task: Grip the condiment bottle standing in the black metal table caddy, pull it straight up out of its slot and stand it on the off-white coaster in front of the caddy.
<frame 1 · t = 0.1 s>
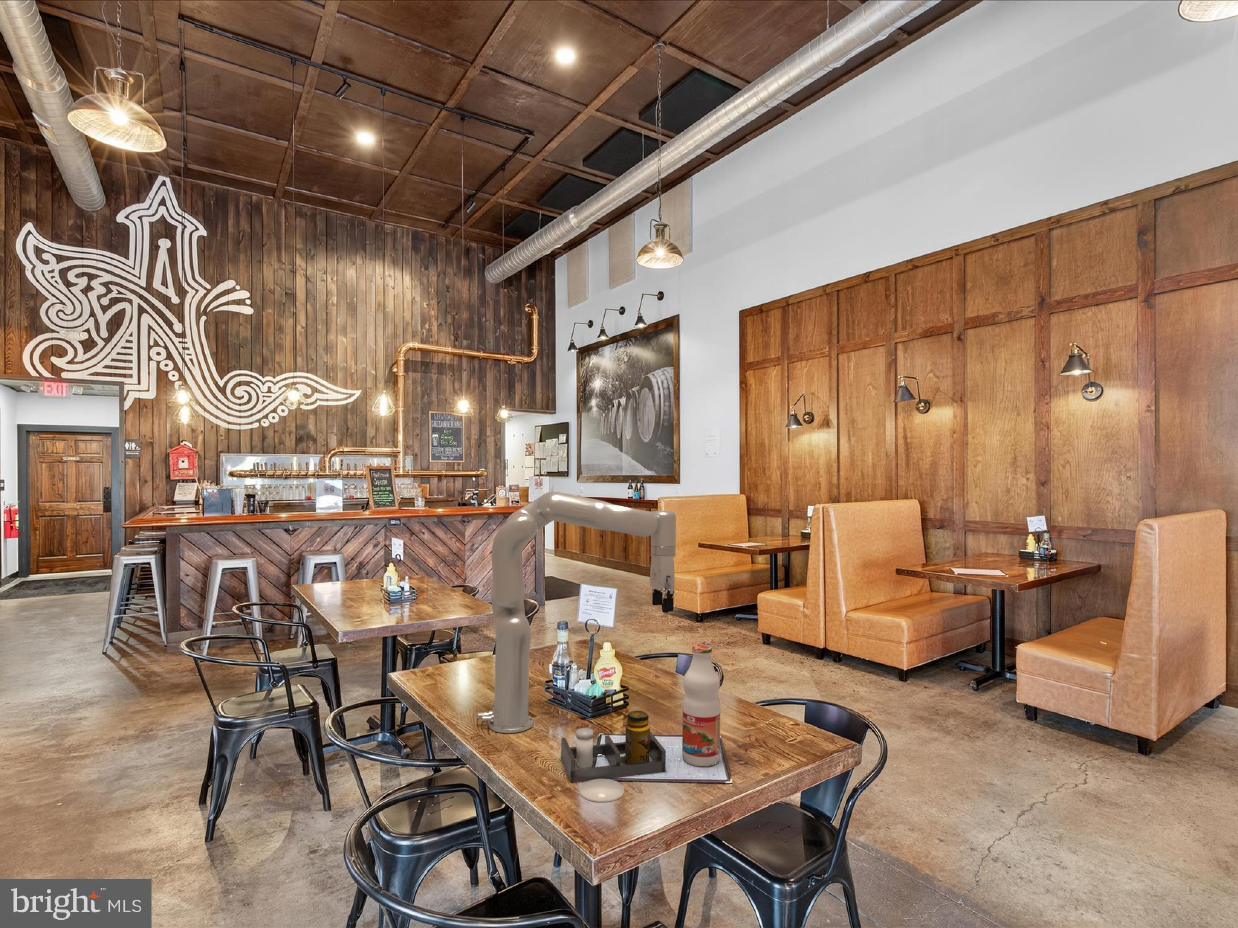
hand: (662, 608, 190), 31 cm above the table, tool pointing down, fingers open, 9 cm apart
coaster: (601, 790, 140), on the table
salt shaker: (584, 764, 153), resting in caddy
condiment: (633, 763, 154), resting in caddy
fruit juice: (700, 759, 157), on the table
caddy: (612, 764, 153), on the table
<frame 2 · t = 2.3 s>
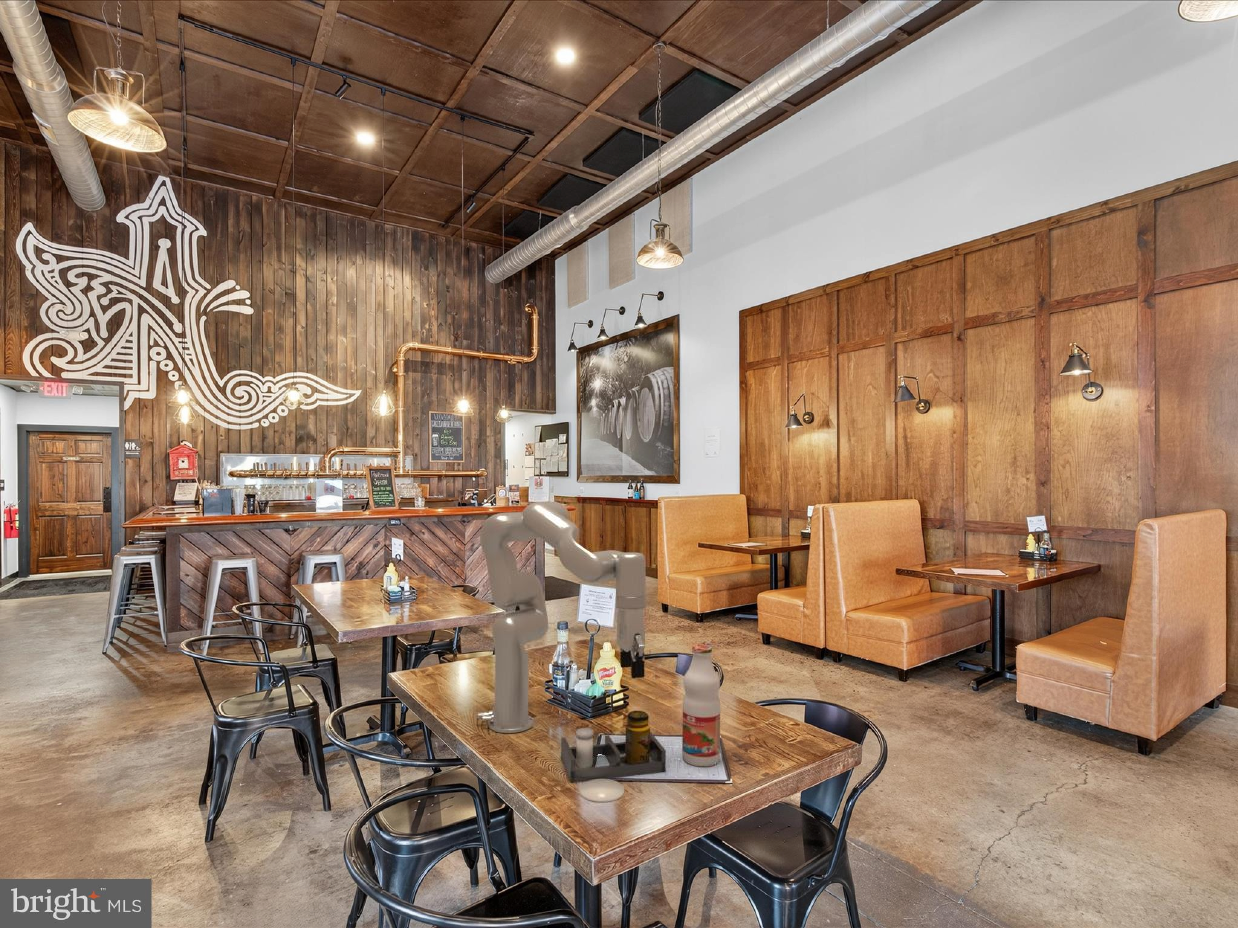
hand: (632, 671, 155), 22 cm above the table, tool pointing down, fingers open, 9 cm apart
nothing on the table moved.
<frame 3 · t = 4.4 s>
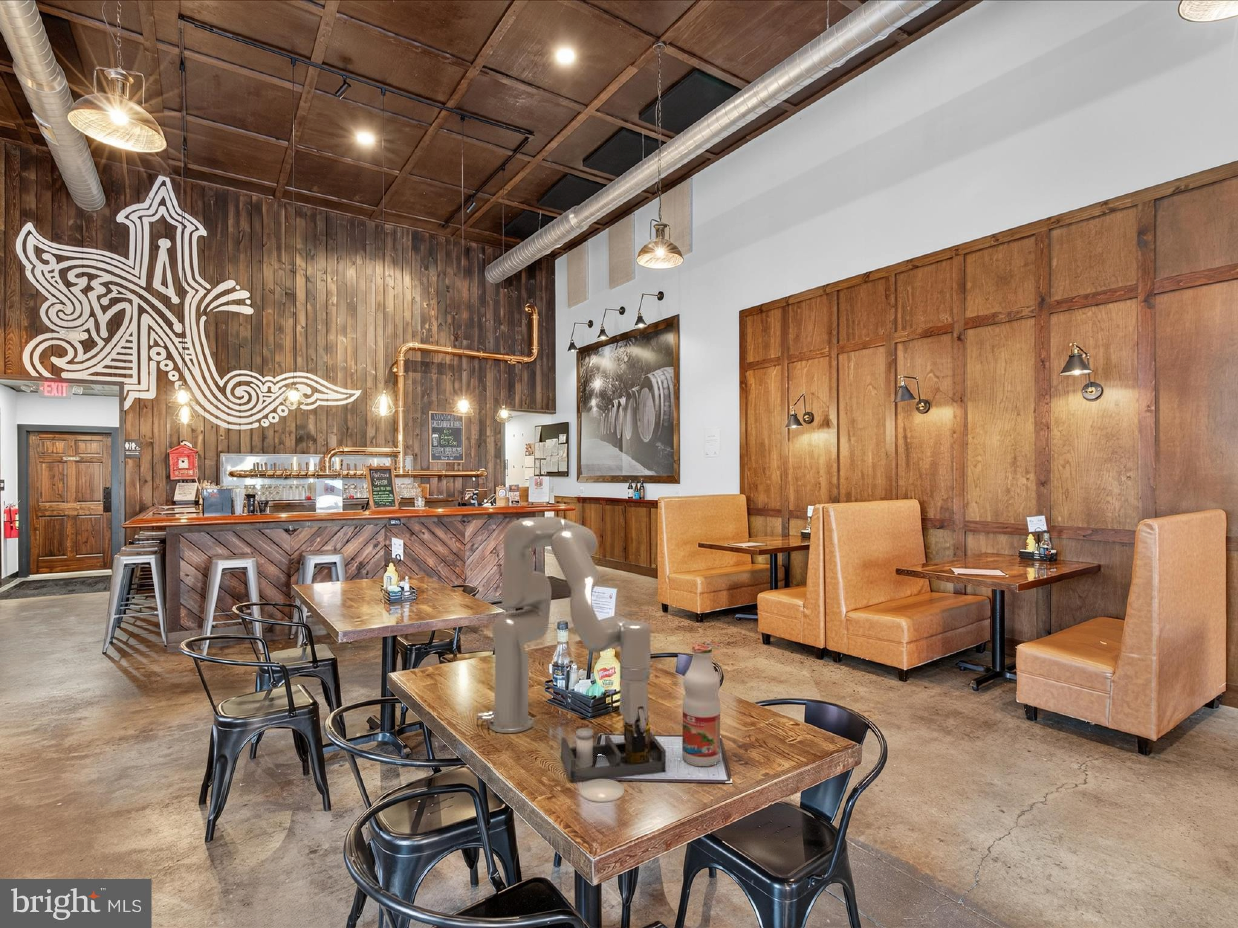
hand: (634, 745, 154), 4 cm above the table, tool pointing down, fingers closed on condiment, 6 cm apart
condiment: (633, 763, 155), resting in caddy, touching gripper
everything else where it was.
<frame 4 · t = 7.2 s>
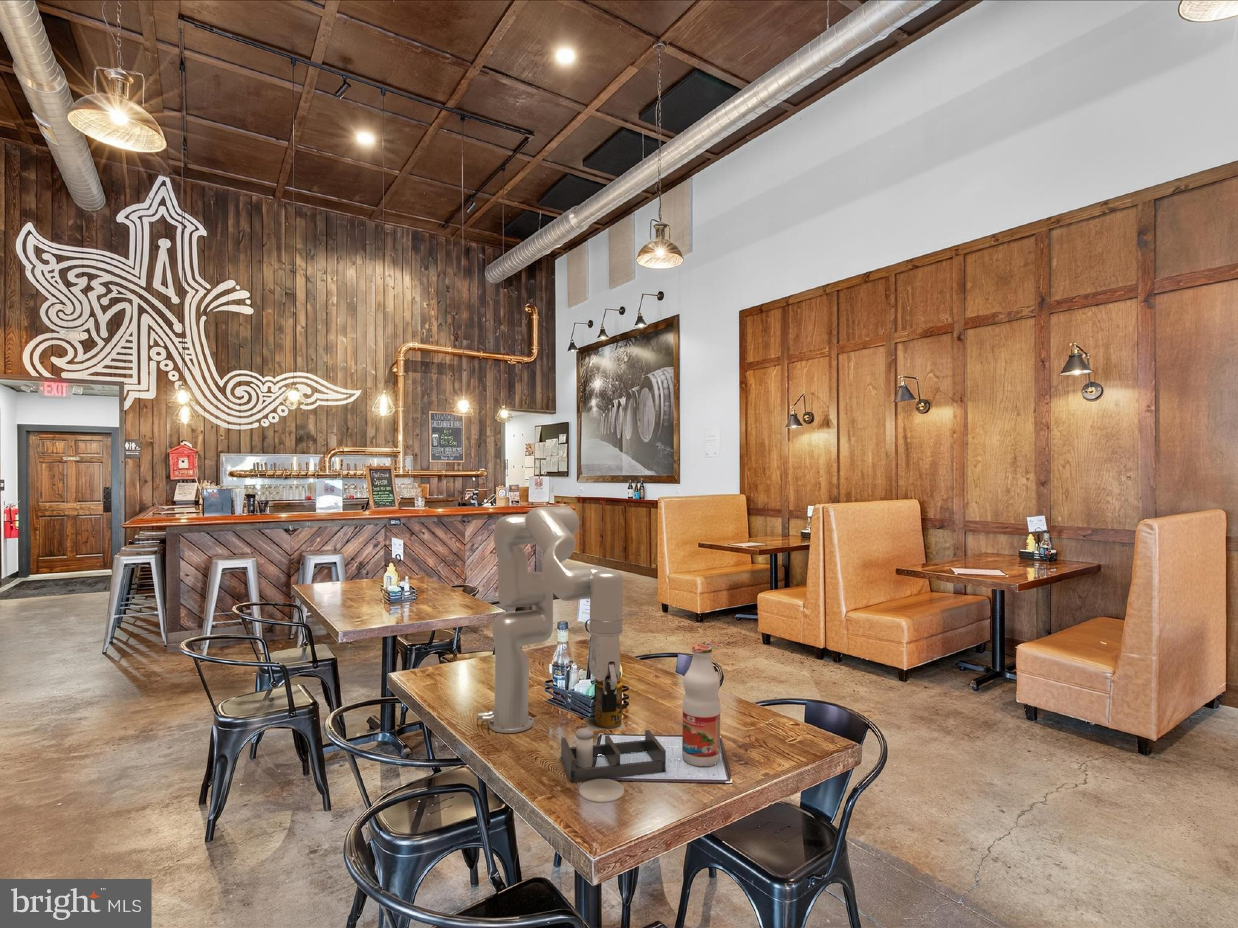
hand: (605, 705, 141), 19 cm above the table, tool pointing down, fingers closed on condiment, 6 cm apart
condiment: (604, 724, 142), point 14 cm above the table, touching gripper
everything else where it was.
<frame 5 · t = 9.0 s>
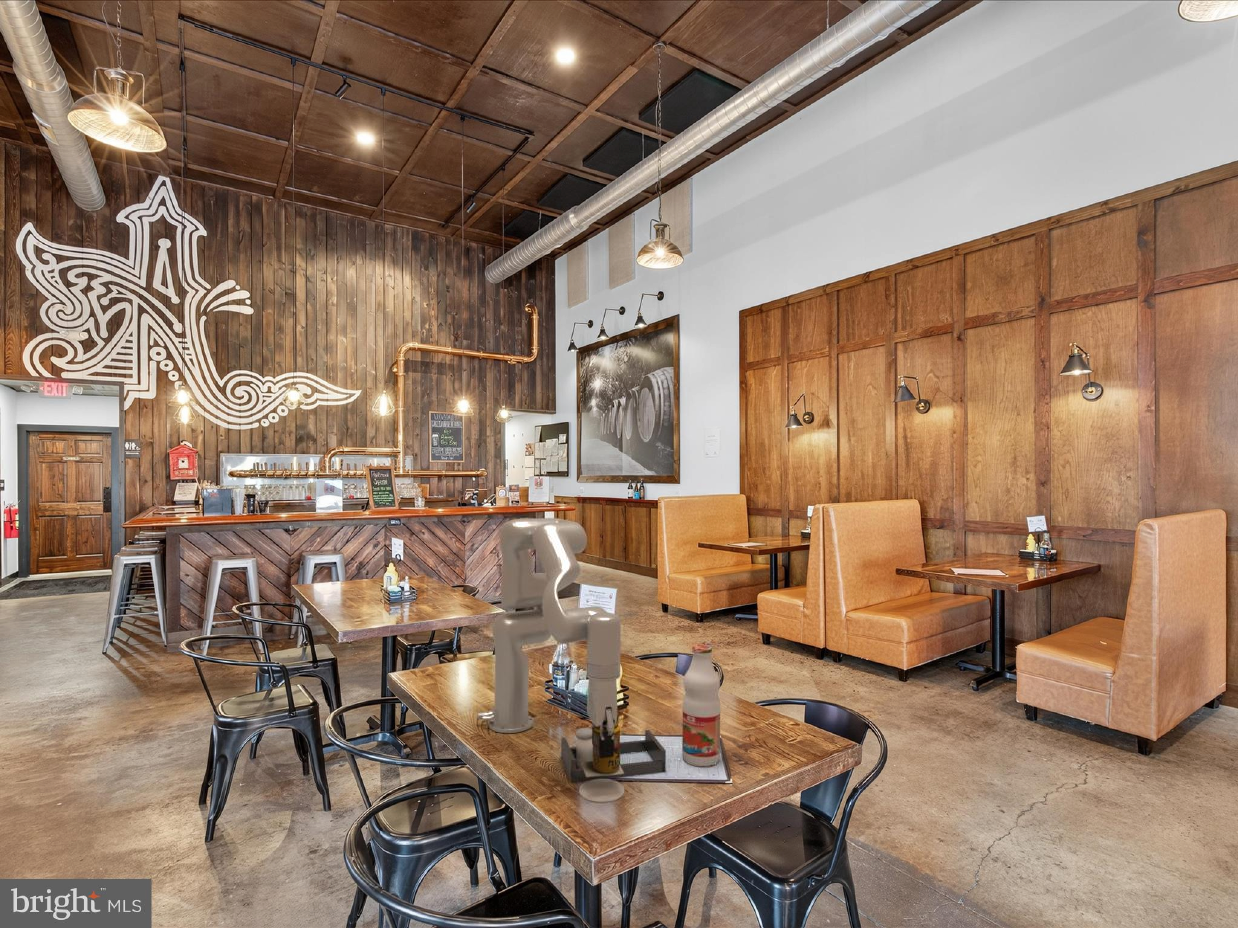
hand: (602, 749, 140), 9 cm above the table, tool pointing down, fingers closed on condiment, 6 cm apart
condiment: (602, 769, 140), point 5 cm above the table, touching gripper
everything else where it was.
when the fingers open (6 cm above the table, at t = 10.2 s): condiment stays where it is, resting on coaster.
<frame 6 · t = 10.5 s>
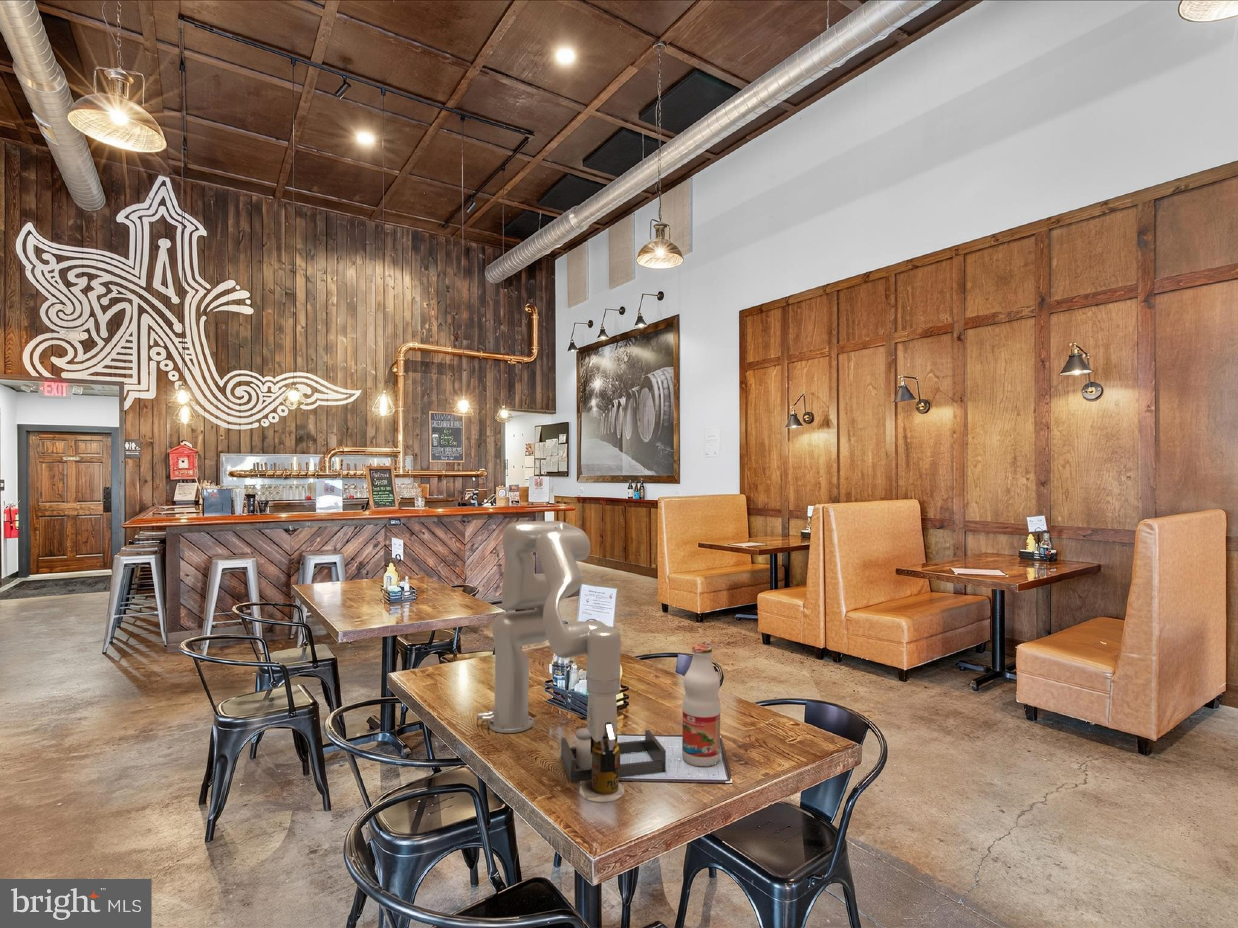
hand: (602, 761, 140), 6 cm above the table, tool pointing down, fingers open, 9 cm apart
condiment: (601, 789, 140), resting on coaster
everything else where it was.
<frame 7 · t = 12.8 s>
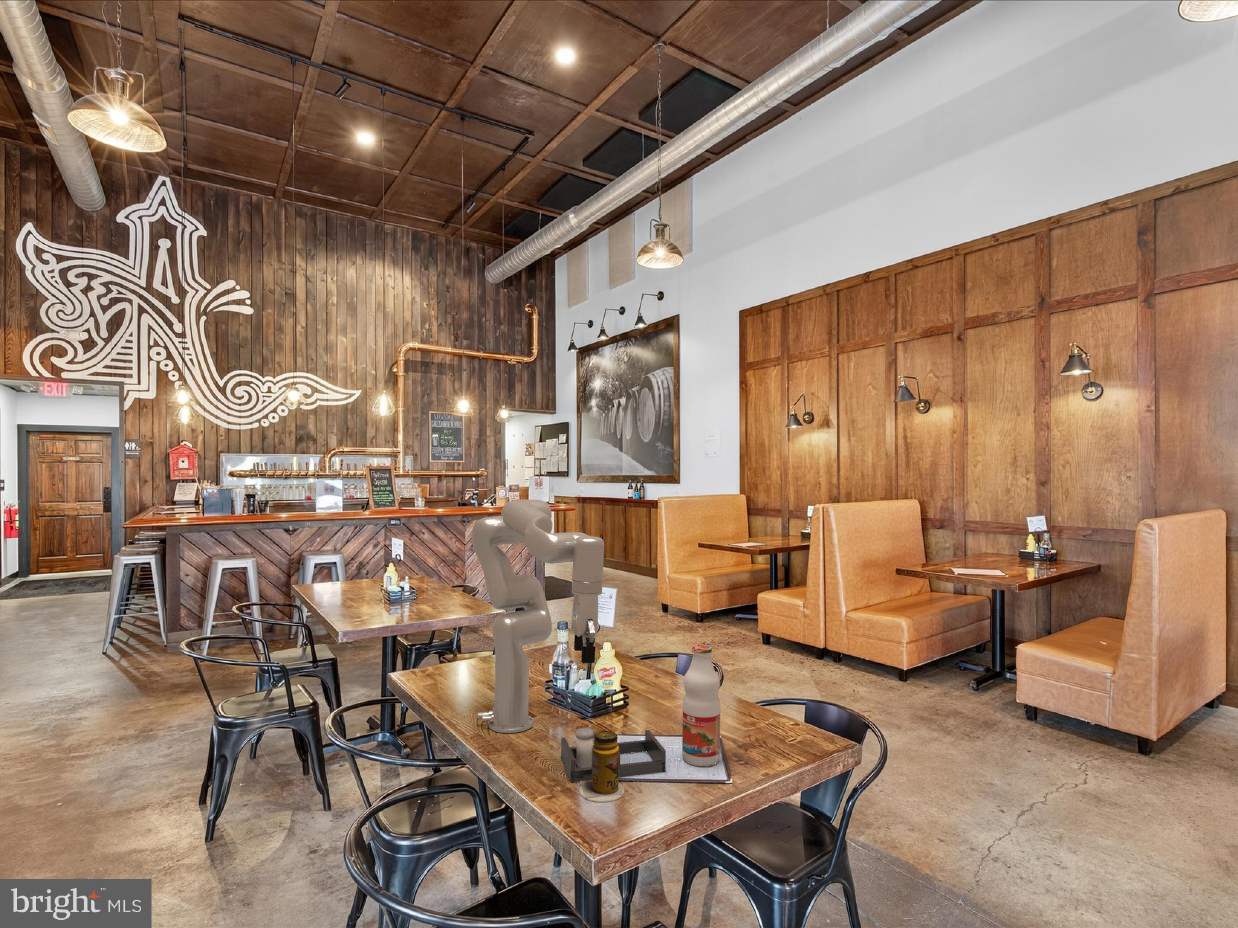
hand: (584, 656, 154), 26 cm above the table, tool pointing down, fingers open, 9 cm apart
nothing on the table moved.
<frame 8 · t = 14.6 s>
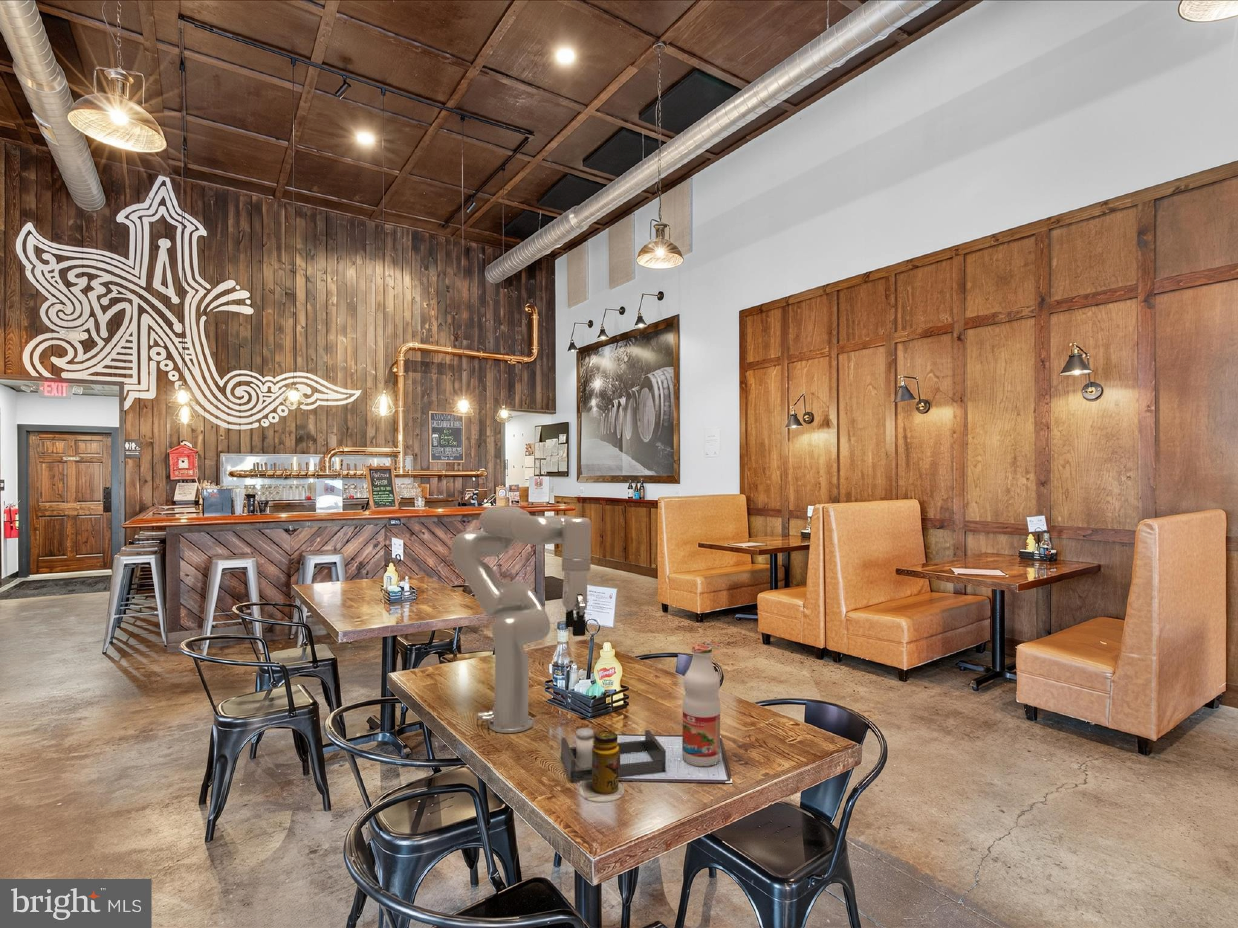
hand: (575, 631, 163), 30 cm above the table, tool pointing down, fingers open, 9 cm apart
nothing on the table moved.
at the end: condiment 0.4 cm from the coaster (horizontally); condiment tilted 0°; the gripper is holding nothing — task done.
